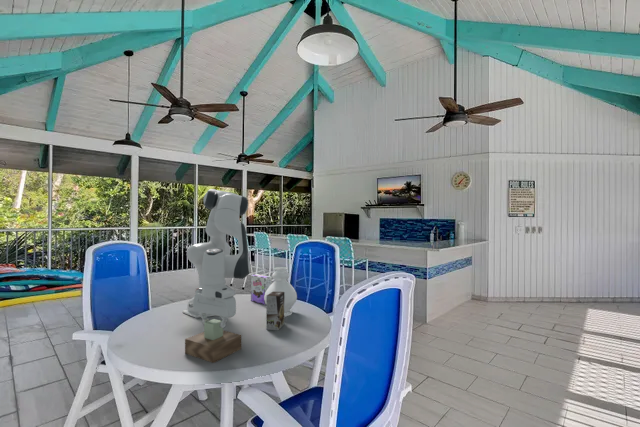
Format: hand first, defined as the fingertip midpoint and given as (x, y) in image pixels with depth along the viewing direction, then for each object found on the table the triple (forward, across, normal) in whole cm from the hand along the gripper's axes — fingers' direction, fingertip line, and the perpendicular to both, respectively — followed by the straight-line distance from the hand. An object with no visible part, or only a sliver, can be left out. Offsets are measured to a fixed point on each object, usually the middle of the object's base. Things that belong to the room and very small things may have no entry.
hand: (213, 325), depth 124 cm
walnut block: (+10, 0, 0) cm, 10 cm away
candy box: (+10, -30, +66) cm, 73 cm away
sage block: (+4, 0, 0) cm, 5 cm away
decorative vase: (+10, -5, +52) cm, 53 cm away
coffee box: (+10, +5, +34) cm, 36 cm away
